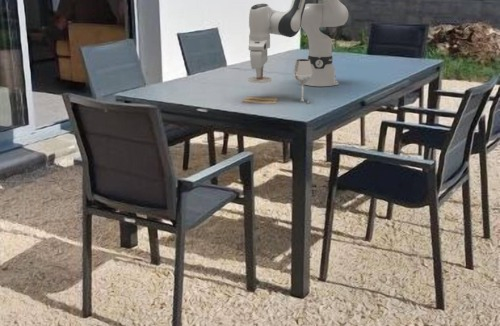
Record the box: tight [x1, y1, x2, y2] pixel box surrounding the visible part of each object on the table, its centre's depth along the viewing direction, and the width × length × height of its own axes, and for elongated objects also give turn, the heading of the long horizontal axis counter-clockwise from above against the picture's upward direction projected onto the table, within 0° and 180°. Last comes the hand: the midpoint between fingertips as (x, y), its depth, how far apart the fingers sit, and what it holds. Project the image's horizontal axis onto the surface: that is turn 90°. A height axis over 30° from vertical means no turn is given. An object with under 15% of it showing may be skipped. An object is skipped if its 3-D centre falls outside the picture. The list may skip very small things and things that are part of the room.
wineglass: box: [292, 58, 313, 104], centre depth 273 cm, size 8×8×18 cm
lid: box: [247, 68, 272, 84], centre depth 275 cm, size 10×10×5 cm
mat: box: [241, 96, 280, 105], centre depth 277 cm, size 14×14×1 cm
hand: (259, 76), depth 275 cm, fingers closed on lid, 3 cm apart
